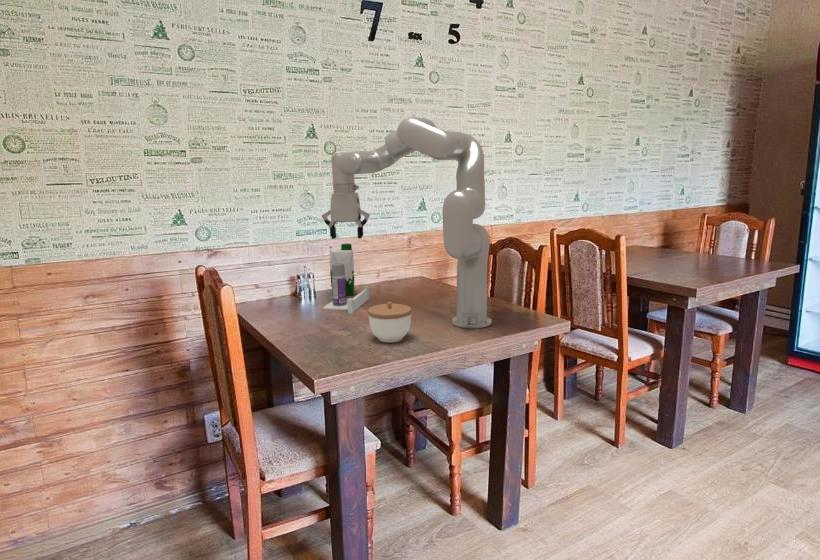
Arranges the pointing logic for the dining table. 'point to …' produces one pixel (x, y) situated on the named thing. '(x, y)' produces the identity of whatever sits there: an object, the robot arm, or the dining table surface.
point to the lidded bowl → (389, 321)
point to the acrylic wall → (358, 300)
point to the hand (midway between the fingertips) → (346, 238)
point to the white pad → (335, 307)
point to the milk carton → (346, 258)
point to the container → (338, 284)
